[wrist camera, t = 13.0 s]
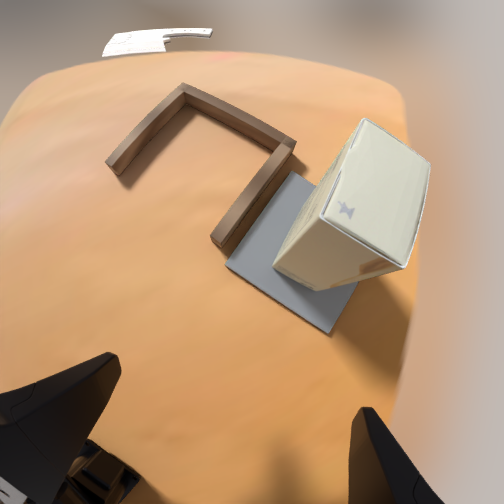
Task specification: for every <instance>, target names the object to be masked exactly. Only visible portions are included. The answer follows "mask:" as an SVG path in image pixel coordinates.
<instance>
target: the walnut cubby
mask: <svg viewBox="0 0 504 504" xmlns="http://www.w3.org/2000/svg"><path fill="white" fill-rule="evenodd" d="M185 104H187V105H189V106H191V107H193V108H195V109H197V110H199V111H201V112H203V113H205V114H207V115H209V116H211V117H213V118H215V119H217V120H219V121H221V122H223V123H224V124H226V125H228V126H230V127H232V128H234V129H235V130H237V131H239V132H241V133H243V134H244V135H246V136H248V137H250V138H251V139H253V140H255V141H256V142H258V143H260V144H262V145H263V146H265V147H267V148H268V149H270V150H272V151H273V154H272V155H271V156H270V157H269V159H268V160H267V161H266V162H265V164H264V165H263V166H262V167H261V169H260V170H259V171H258V172H257V174H256V175H255V176H254V178H253V179H252V180H251V181H250V183H249V184H248V185H247V187H246V188H245V189H244V191H243V192H242V193H241V194H240V196H239V197H238V198H237V200H236V201H235V202H234V204H233V205H232V206H231V208H230V209H229V210H228V212H227V213H226V214H225V216H224V217H223V218H222V220H221V221H220V222H219V224H218V225H217V226H216V228H215V229H214V230H213V232H212V233H211V235H210V237H211V240H212V242H214V243H215V244H217V245H218V246H220V247H221V248H222V247H223V246H224V244H225V243H226V242H227V240H228V239H229V238H230V236H231V235H232V233H233V232H234V231H235V229H236V228H237V226H238V225H239V224H240V222H241V221H242V220H243V218H244V217H245V215H246V214H247V213H248V211H249V210H250V209H251V207H252V206H253V205H254V203H255V202H256V201H257V199H258V198H259V196H260V195H261V194H262V192H263V191H264V190H265V188H266V187H267V186H268V184H269V183H270V182H271V180H272V179H273V178H274V176H275V175H276V174H277V172H278V171H279V170H280V168H281V167H282V166H283V164H284V163H285V162H286V160H287V159H288V158H289V156H290V155H291V154H292V152H293V150H294V147H295V145H296V142H297V141H295V140H294V139H292V138H290V137H289V136H287V135H285V134H284V133H282V132H280V131H278V130H277V129H275V128H273V127H272V126H270V125H268V124H266V123H264V122H263V121H261V120H259V119H257V118H255V117H254V116H252V115H250V114H248V113H246V112H244V111H242V110H240V109H238V108H236V107H234V106H233V105H231V104H229V103H227V102H225V101H222V100H220V99H218V98H216V97H214V96H212V95H210V94H208V93H206V92H203V91H201V90H199V89H197V88H195V87H192V86H190V85H188V84H185V83H182V84H181V85H179V86H178V87H177V88H176V89H175V90H174V91H173V92H171V93H170V94H169V95H168V96H167V97H166V98H165V99H164V100H163V101H162V102H160V103H159V104H158V105H157V106H156V107H155V108H154V109H153V110H152V111H151V112H150V113H149V114H148V115H147V116H146V117H145V118H144V119H143V120H142V121H141V122H140V123H139V124H138V125H137V126H136V127H135V128H134V129H133V130H132V131H131V133H130V134H129V135H128V136H127V137H126V138H125V139H124V140H123V141H122V142H121V144H120V145H119V146H118V147H117V148H116V149H115V150H114V151H113V153H112V154H111V155H110V156H109V157H108V159H107V160H106V161H105V163H106V164H107V165H108V166H109V168H110V169H111V170H112V171H113V172H114V173H116V174H117V175H118V176H120V175H121V173H122V172H123V171H124V170H125V168H126V167H127V166H128V165H129V164H130V162H131V161H132V160H133V159H134V158H135V157H136V155H137V154H138V153H139V152H140V151H141V150H142V149H143V148H144V146H145V145H146V144H147V143H148V142H149V141H150V140H151V139H152V138H153V137H154V136H155V135H156V133H157V132H158V131H159V130H160V129H161V128H162V127H163V126H164V125H165V124H166V123H167V122H168V121H169V120H170V119H171V118H172V117H173V116H174V115H175V114H176V113H177V112H178V111H179V110H180V109H181V108H182V107H183V106H184V105H185Z"/></svg>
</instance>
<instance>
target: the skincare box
mask: <svg viewBox="0 0 504 504" xmlns="http://www.w3.org/2000/svg"><path fill="white" fill-rule="evenodd" d="M430 167H431V165H430V163H429V162H428V161H427V160H425V159H424V158H423V157H421V156H420V155H419V154H418V153H416V152H415V151H414V150H413V149H411V148H410V147H409V146H407V145H406V144H405V143H403V142H402V141H400V140H399V139H398V138H396V137H395V136H393V135H392V134H391V133H389V132H388V131H386V130H385V129H383V128H382V127H380V126H378V125H377V124H375V123H374V122H372V121H371V120H369V119H368V118H363V119H362V120H361V121H360V122H359V124H358V125H357V127H356V128H355V130H354V131H353V133H352V134H351V136H350V137H349V139H348V140H347V142H346V143H345V145H344V146H343V148H342V149H341V151H340V152H339V154H338V155H337V157H336V158H335V160H334V161H333V163H332V164H331V166H330V167H329V169H328V170H327V172H326V173H325V175H324V176H323V178H322V179H321V180H320V182H319V183H318V185H317V186H316V188H315V189H314V191H313V192H312V194H311V195H310V196H309V198H308V199H307V201H306V202H305V204H304V205H303V207H302V208H301V210H300V212H299V214H298V216H297V217H296V219H295V221H294V223H293V225H292V227H291V229H290V230H289V232H288V234H287V236H286V238H285V240H284V242H283V244H282V246H281V248H280V250H279V252H278V254H277V256H276V258H275V260H274V263H273V265H272V267H273V268H274V269H276V270H277V271H279V272H281V273H282V274H284V275H286V276H288V277H289V278H291V279H293V280H294V281H296V282H298V283H300V284H302V285H304V286H306V287H308V288H310V289H312V290H314V291H320V290H325V289H329V288H333V287H337V286H341V285H346V284H350V283H353V282H357V281H361V280H365V279H369V278H372V277H376V276H380V275H383V274H387V273H391V272H394V271H398V270H402V269H404V268H405V267H406V266H407V263H408V260H409V258H410V255H411V252H412V249H413V246H414V243H415V240H416V237H417V234H418V230H419V226H420V222H421V218H422V213H423V209H424V205H425V200H426V194H427V189H428V182H429V175H430Z"/></svg>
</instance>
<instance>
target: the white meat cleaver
mask: <svg viewBox="0 0 504 504" xmlns="http://www.w3.org/2000/svg"><path fill="white" fill-rule="evenodd" d="M212 33H213V30H212V29H203V28H202V29H201V28H190V29H189V28H178V29H155V30H145V31H144V30H143V31H135V32H134V31H133V32H127V33H120V34H115V35H114V36H113V38H111V40H110V41H109V43H108V44H107V45H106V46H105V50H104V52H103V55H102V57H107V56H114V55H123V54H134V53H149V52H166V49H165V47H164V45H165V44H168V43H170V38H178V37H196V38H207V39H210V37H211V35H212Z"/></svg>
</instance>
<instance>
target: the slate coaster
mask: <svg viewBox="0 0 504 504" xmlns="http://www.w3.org/2000/svg"><path fill="white" fill-rule="evenodd" d="M315 188H316V186H315V185H313V184H312V183H310V182H309V181H307V180H306V179H304V178H303V177H301V176H300V175H298V174H297V173H295V172H294V171H291V172H290V174H289V175H288V176H287V178H286V179H285V181H284V182H283V183H282V185H281V186H280V187H279V189H278V190H277V192H276V193H275V194H274V196H273V197H272V199H271V200H270V201H269V203H268V204H267V205H266V207H265V208H264V210H263V211H262V212H261V214H260V215H259V217H258V218H257V219H256V221H255V222H254V224H253V225H252V226H251V228H250V229H249V231H248V232H247V233H246V235H245V236H244V238H243V239H242V240H241V242H240V243H239V245H238V246H237V248H236V249H235V250H234V252H233V253H232V255H231V256H230V257H229V259H228V260H227V262H226V263H225V266H227V267H228V268H230V269H231V270H232V271H234V272H235V273H237V274H238V275H240V276H241V277H243V278H244V279H246V280H247V281H248V282H250V283H251V284H253V285H254V286H256V287H257V288H259V289H260V290H262V291H263V292H265V293H266V294H268V295H269V296H271V297H272V298H274V299H275V300H277V301H278V302H280V303H281V304H283V305H284V306H286V307H287V308H289V309H290V310H292V311H293V312H295V313H296V314H298V315H299V316H301V317H302V318H304V319H305V320H307V321H308V322H310V323H311V324H313V325H314V326H316V327H318V328H319V329H321V330H322V331H324V332H325V333H328V334H329V332H330V330H331V329H332V327H333V326H334V324H335V322H336V321H337V319H338V317H339V316H340V314H341V312H342V311H343V309H344V307H345V305H346V304H347V302H348V300H349V299H350V297H351V295H352V293H353V291H354V290H355V288H356V286H357V284H358V282H359V281H357V282H353V283H350V284H346V285H341V286H337V287H333V288H329V289H325V290H320V291H314V290H312V289H310V288H308V287H306V286H304V285H302V284H300V283H298V282H296V281H294V280H293V279H291V278H289V277H288V276H286V275H284V274H282V273H281V272H279V271H277V270H276V269H274V268H273V267H272V265H273V263H274V260H275V258H276V256H277V254H278V252H279V250H280V248H281V246H282V244H283V242H284V240H285V238H286V236H287V234H288V232H289V230H290V229H291V227H292V225H293V223H294V221H295V219H296V217H297V216H298V214H299V212H300V210H301V208H302V207H303V205H304V204H305V202H306V201H307V199H308V198H309V196H310V195H311V194H312V192H313V191H314V189H315Z"/></svg>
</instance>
